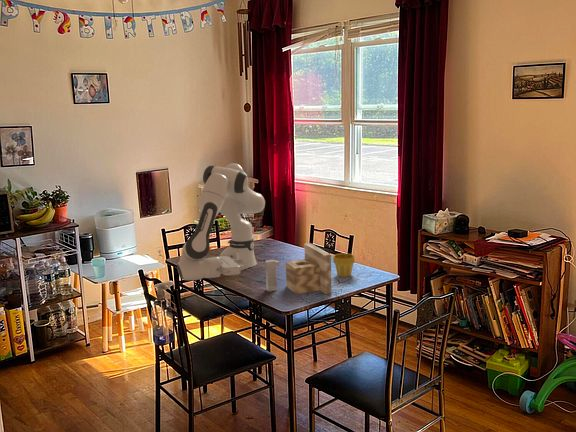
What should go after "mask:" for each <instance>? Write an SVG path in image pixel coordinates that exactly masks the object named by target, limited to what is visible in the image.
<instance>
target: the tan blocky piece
mask: <svg viewBox="0 0 576 432" xmlns="http://www.w3.org/2000/svg"><path fill="white" fill-rule="evenodd" d="M303 245H304V259H299V260H298V259H297V260H292V261H290V260H289V261H285V274H286V275H285V277H286V278H285V279H286V280H285V281H286V287H287V288H288V289H289V290H290V291H291V292H292V293H294V294H295V295H299V294H306V293H312V292H318V291H320V292H322V293H323V294H324V295H329V294H332V293H333V292H332V291H333V290H332V287H333V286H332V254H330V253H329V252H327V251H325V250H323V249H322V248H320V247H318V246H316V245H314V244H313V243H311V242H309V243H304V244H303Z"/></svg>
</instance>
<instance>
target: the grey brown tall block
mask: <svg viewBox="0 0 576 432" xmlns="http://www.w3.org/2000/svg"><path fill="white" fill-rule="evenodd" d="M264 267H265V268H264V269H265V290H266V291H267V292H275V291H277V267H280V261H279V260H276V259H269V260H267V259H266V260H264Z"/></svg>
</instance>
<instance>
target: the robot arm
mask: <svg viewBox="0 0 576 432" xmlns="http://www.w3.org/2000/svg"><path fill="white" fill-rule="evenodd" d="M249 180H250V179H249V176H248V174H247V173H246V172H245V171H244V169H243V167H242V166H241V165H240V164H239V163H235V162H234V163H233V162H231V163H229V164H227V165H225V167H224V166H217V165H208V166H207V167H206V168H205V169H204V171H203V175H202V181H203V184H204V185H203V188H202V190H201V193H200V196H199V199H198V200H199V201H198V206H197V207H198V210H199V211H200V216H199V219H198V222H197V224H196V227H195V231H194V233H193V234H192V235H191V236H190V237H189V238H188V240H186V242H185V243H184V244H183V246H182V251H181V256H180V258H179V261H178V262H177V264H176V270H177V273H178V276H179V278H180V279H181V280H183V281H197V280H198V281H199V280H202V279H214V278H219V277H221V276H222V275H223V276H236V275H240V274H241V271H243V270H245V269H246V270H247V269H248V268H252V267H255V266H257V264H258V263H257V259H256V257H255V251H254V248H255V247H254V246H255V245H254V238H253V237H254V236H253V225H252V223H251V222H249V221H248V220H246V219H244V218H242V216H241V215H250V214H251V215H253V214H258V213H261V212H263V211H264V209H265V206H266V200H265V198H264V196H263V195H262V194H261V193H259V192H256V191H254V190H252V189H251V187H249V183H250V182H249ZM219 213H220V214H222V215H223V216H224V217H225V218H226V220H227V221H228V223H229V225H230V232H231V239H230V240H229V241H227V244H229V246H227V247H226V248H225V249H223V251H221V253H220V254H219V256H215V255H211V256H209V257H207V258H206V256H207V255H208V254H209V251H210V246H211V245H210V236H211V235H210V234H211V232H212V228H213V225H214V222H215V219H216V218H217V216H218V215H219ZM221 274H222V275H221Z"/></svg>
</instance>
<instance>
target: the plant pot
mask: <svg viewBox="0 0 576 432" xmlns="http://www.w3.org/2000/svg"><path fill="white" fill-rule="evenodd" d="M333 264H334V265H335V269H336V270H335V271H336V275H337V276H338V277H341V278H344V277H345V278H346V277H351V275H352V271H353V267H354V264H355V255H354V254H352V253H344V252H343V253H337V254H335V255H333Z"/></svg>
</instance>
